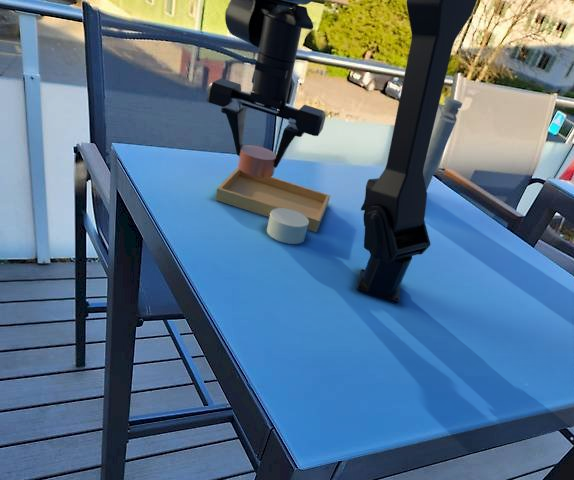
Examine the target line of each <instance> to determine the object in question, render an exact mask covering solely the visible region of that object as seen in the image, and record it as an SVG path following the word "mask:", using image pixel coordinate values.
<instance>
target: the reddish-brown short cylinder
mask: <svg viewBox="0 0 574 480" xmlns="http://www.w3.org/2000/svg"><path fill="white" fill-rule="evenodd" d="M276 155H277V153H275V152H274V151H272V150H270V149H269V148H266V147H262V146H259V145H253V144H243V146H242V147H241V148H240V154H239V156H238V160H237V161H238V162H237V168H239V169H240V170H241V171H243V172H244V173H246V174H249V175H252V176H256V177H262V178H267V177H274V174H275V170H276V168H275V167H274V164H275V158H276Z"/></svg>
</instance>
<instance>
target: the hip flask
mask: <svg viewBox="0 0 574 480" xmlns="http://www.w3.org/2000/svg"><path fill="white" fill-rule="evenodd" d="M462 107H463V103H462V102H461V101H459V100H457V99H455V98H451V97H444V99H443V104H441V103H439V106H438V110H437V114H436V119H435V123H434V127H433V131H432V135H431V139H430V144H429V148H428V152H427V156H426V160H425V164H424V169H423V176H424V181H425V186H426V191H428V189H429V186H430V184H431V182H432V179H433V177H434V175H435V172H436V170H437V169H438V165H439V163H440V161H441V158H442V155H443V153H444V151H445V150H446V149H445V148H446V146H447V144H448V142H449V140H450V137H451V135H452V132H453V130H454V128H455V126H456V123H457V115H458V113H459V109H462Z"/></svg>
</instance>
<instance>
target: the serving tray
mask: <svg viewBox="0 0 574 480" xmlns="http://www.w3.org/2000/svg"><path fill="white" fill-rule="evenodd" d="M330 198H331V195H330V194H327V193H325V192H322V191H318V190H315V189H312V188H309V187H305V186H302V185H300V184H296V183H292V182H290V181H286V180H284V179H280V178H277V177H274V176H272V177H267V178H262V177H256V176H252V175H249V174H246V173H244V172H243V171H241V170H240V169H239V168H238V167H236V168H235V169H234V171H232V173H230V174H229V175H228V176H227V177H226V179H224V181H223V182H222V183H221V184H220V185H219V186H218V187H217V188H216V194H215V201H217V202H220V203H224V204H226V205H231V206H232V207H236V208H239V209H241V210H245V211H248V212H251V213H255V214H258V215H260V216H263V217H267V218H269V216H270V212H271V211H272V210H273V209H277V208H285V209H291V210H294V211H297V212H299V213H301V214H303V215H304V216H305V217H307V219H308V220H309V224H308V228H307V231H310V232H314V233H317V232H318V229H319V227H320V225H321V223H322V220H323V217H324V215H325V212H326V210H327V208H328V205H329V201H330Z"/></svg>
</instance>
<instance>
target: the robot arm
mask: <svg viewBox="0 0 574 480" xmlns="http://www.w3.org/2000/svg"><path fill="white" fill-rule="evenodd" d="M313 1H314V0H230V1H229V3H228V5H227V7H226V8H225V12H224V14H225V15H224V20H225V25H226V29H227V30H228V32H229V34H231V35H232V36H234V37H236V38H237V39H239V40H241V41H243V42H246V43H248V44H250V45H252V46H254V47H256V48H258V51H257V57H256V61H255V63H254V70H253V73H252V77H251V83H252V87H251V88H252V89H251V92H250V93H248V92H246V91H242V85H241V83H237V82H235V81H231V80H228V79H225V78H222V77H220V78H218V79H217V80H215V81H214V80H213V81H212V82H211V83H210V84H209V85H208V87H207V92H206V93H207V94H206V102H207V103H209V104H211V105H212V104H213V105H216V106H219V107H221V109H220V113H222V114H225V115H226V119H227V121H228V125H229V127H230V130H231V135H232V138H233V143H234V147H235V153H236V155H237V156H238V157H239V154H240V148H241V147H242V146H244V144H243V143H244V135H245V134H244V133H245V121H246V116H247V111H248V108H249V109H252V110H256V111H259V112H262V113H265V114H269V115H272V116H274V117H278V118H281V119H285V120H287V121H288V122H287V123H288V124H287V125H286V126H285V128H283V132H282V135H281V139H280V141H279V146H278V148H277V153H276V158H275V164H274V167H275V169H277V168H278V167H279V164H280V162H281V161H282V159H283V157H284V155H285V153H286V152H287V150H288V148H289V146H290V144H291V143H292V142H293V140H294V139H295V138H296V137H298V138H301V137H302V136H304V134H307V135H310V136H312V137H319V135H320V134H321V133H322V131H323V129H324V125H325V121H326V117H327V115H326V113H325V110H322V109H319V108H316V107H313V106H311V105H307V104H303V105H302V106H301V107H300V108H299V109H298V108H295V107H292V106H290V105H291V101H292V97H293V93H294V89H295V85H296V83H295V81H294V79H293V73H294V68H295V63H296V58H297V53H298V49H299V44H300V39H301V33H302V29H303V30H309V31H311V30H313V29H314V24H313V21H312V19H311V17H310V15H309V12H308V9H307V7H306V5H308V4H310V3H311V2H313ZM477 2H478V0H406V9H407V15H408V21H409V27H410V32H411V39H410V46H409V51H408V55H407V60H406V65H405V71H404V75H403V79H402V85H401V91H400V96H399V100H398V105H397V111H396V116H395V121H394V125H393V130H392V135H391V140H390V145H389V149H388V150H389V151H388V155H387V160H386V165H385V168H384V170H383V171H382V173H381V175H379V177H377V178H369V179H367V182H366V184H365V194H364V200H363V203H362V205H361V207H360V211H363V226H364V238H363V248H364V249H365V250H366V251H367V252H369V254H370V256H369V258H368V262H367V263H366V266H365V268H364V269H363V268H361V269H360V270H359V274H358V279H357V284H356V291H357V292H360V293H363V294H365V295H369V296H372V297H375V298H378V299H381V300H385V301H387V302H391V303H394V304H399V302H400V299H401V298H400V296H401V284H402V282H403V280H404V278H405V275H406V273H407V270H408V268H409V266H410V264H411V261H412V259H413V256H417V255H420V256H421V255H423V254H424V253H425V252H426V251H427V250H428V249H429V248H430V246H431V240H430V236H429V233H428V229H427V225H426V222H425V218H426V217H425V216H426V208H427V201H428V200H427V199H428V192H427V191H428V190H427V191H426V186H425V181H424V176H423V169H424V164H425V160H426V156H427V152H428V148H429V144H430V139H431V135H432V131H433V127H434V123H435V119H436V114H437V110H438V106H439V104H440V101H441V97H442V92H443V89H444V86H445V80H446V76H447V72H448V68H449V64H450V60H451V56H452V51H453V47H454V44H455V41H456V39H457V38H458V37H459V35H460V33H461V32H462V30H463V28H464V27H465V26H466V24H467V23H468V21H469V20H470V18H471V16H472V15H473V13H474V11H475V7H476V5H477Z"/></svg>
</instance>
